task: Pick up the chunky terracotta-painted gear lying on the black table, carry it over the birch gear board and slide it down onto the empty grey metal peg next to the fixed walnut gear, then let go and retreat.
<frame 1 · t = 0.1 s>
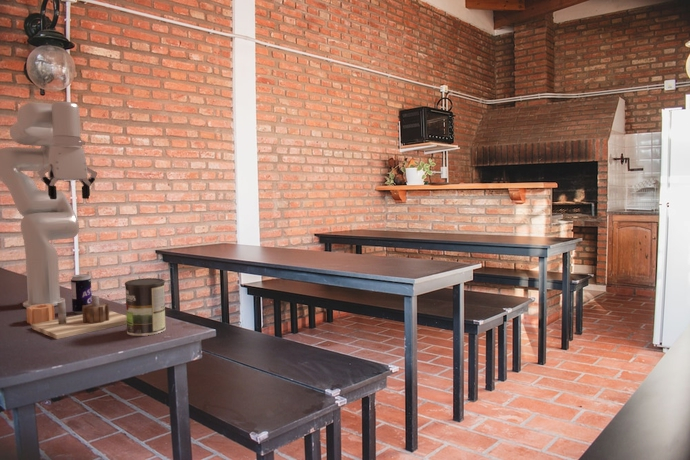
hand: (69, 198, 159), 37 cm above the table, tool pointing down, fingers open, 9 cm apart
gear board: (84, 325, 149), on the table
beverage can: (82, 312, 165), on the table
coffee can: (146, 331, 143), on the table
loose gear: (41, 321, 154), on the table
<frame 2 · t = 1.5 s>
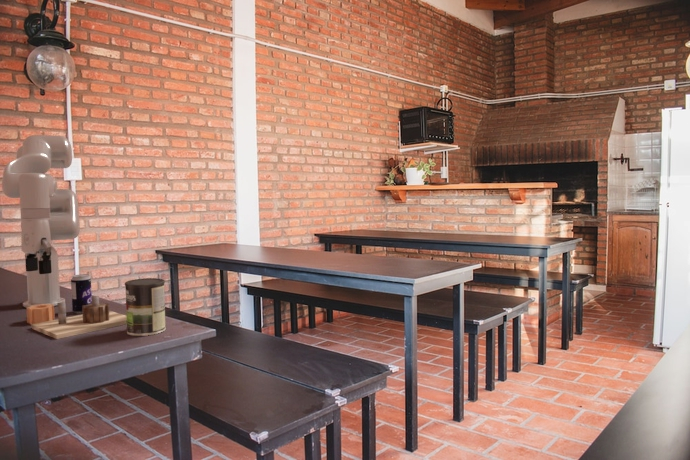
hand: (38, 272, 152), 15 cm above the table, tool pointing down, fingers open, 9 cm apart
nothing on the table moved.
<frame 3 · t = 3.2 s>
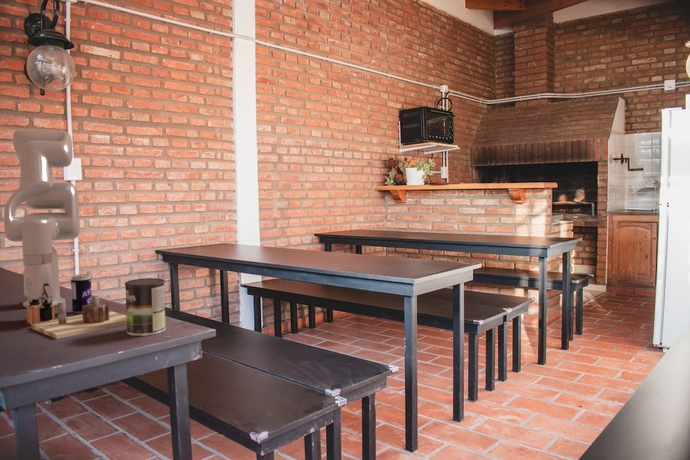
hand: (41, 318, 154), 1 cm above the table, tool pointing down, fingers closed on loose gear, 7 cm apart
loose gear: (41, 321, 154), on the table, touching gripper
everything else where it was.
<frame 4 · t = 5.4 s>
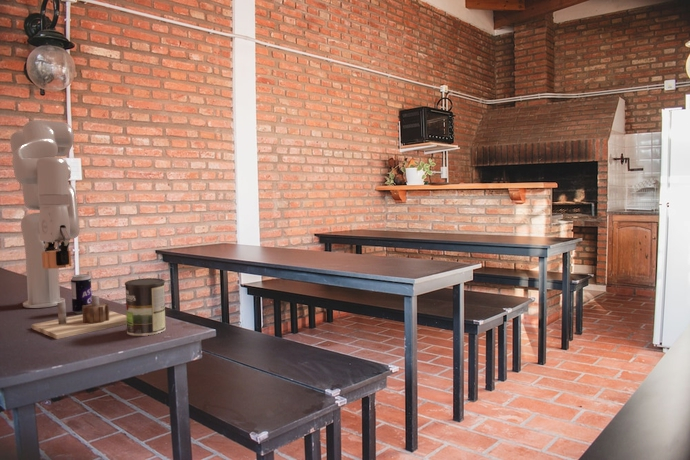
hand: (57, 263, 146), 18 cm above the table, tool pointing down, fingers closed on loose gear, 7 cm apart
loose gear: (57, 267, 146), point 17 cm above the table, touching gripper
everything else where it was.
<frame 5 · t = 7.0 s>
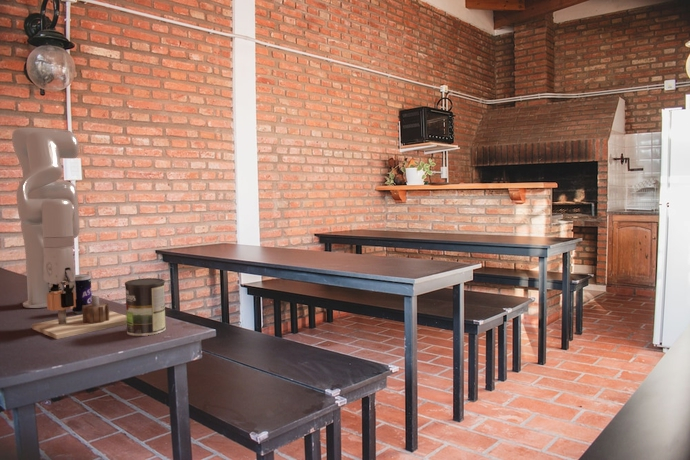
hand: (61, 304, 146), 7 cm above the table, tool pointing down, fingers closed on loose gear, 7 cm apart
loose gear: (61, 307, 146), point 6 cm above the table, touching gripper
everything else where it was.
when the fingers open (4 cm above the table, at t = 8.0 s): loose gear drops 2 cm, resting on gear board.
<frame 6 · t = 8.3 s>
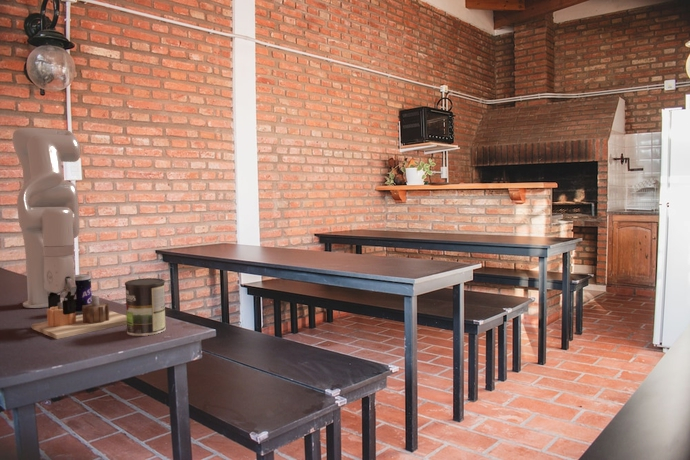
hand: (61, 311, 146), 5 cm above the table, tool pointing down, fingers open, 9 cm apart
loose gear: (62, 323, 147), point 1 cm above the table, touching gear board
everything else where it was.
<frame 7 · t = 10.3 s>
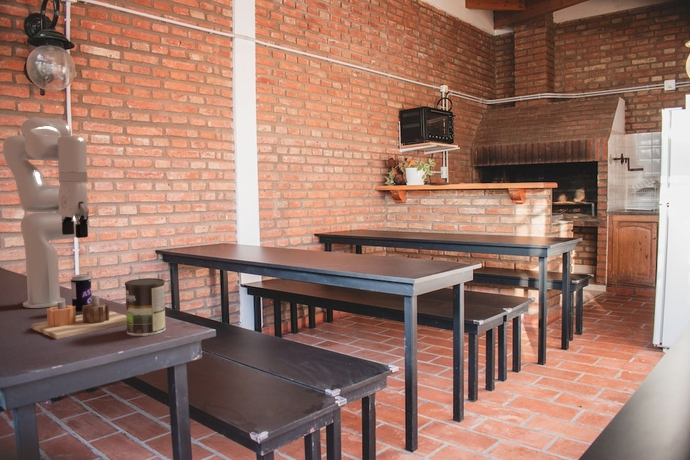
hand: (75, 235, 153), 26 cm above the table, tool pointing down, fingers open, 9 cm apart
nothing on the table moved.
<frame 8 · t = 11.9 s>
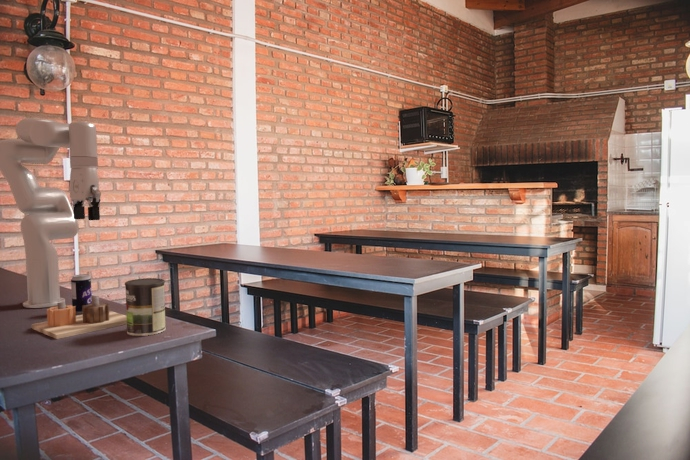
hand: (86, 219, 157), 30 cm above the table, tool pointing down, fingers open, 9 cm apart
nothing on the table moved.
at the end: loose gear 0.3 cm from the target spot on the gear board, point 1.2 cm above the gear board's base; loose gear tilted 0°; the gripper is holding nothing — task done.
